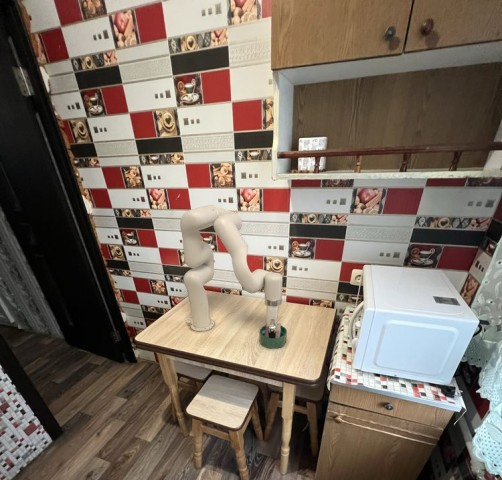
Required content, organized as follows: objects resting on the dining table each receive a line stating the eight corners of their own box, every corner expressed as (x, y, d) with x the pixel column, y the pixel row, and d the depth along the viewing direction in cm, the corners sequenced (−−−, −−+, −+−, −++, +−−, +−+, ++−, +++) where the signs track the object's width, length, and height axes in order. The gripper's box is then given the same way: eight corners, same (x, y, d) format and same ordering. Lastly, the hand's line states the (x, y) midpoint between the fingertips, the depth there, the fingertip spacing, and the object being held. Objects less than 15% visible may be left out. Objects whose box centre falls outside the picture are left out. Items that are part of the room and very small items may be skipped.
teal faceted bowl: (262, 350, 129) (262, 340, 125) (257, 335, 139) (257, 325, 136) (289, 347, 130) (290, 336, 127) (282, 332, 141) (282, 322, 138)
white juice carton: (266, 337, 137) (266, 320, 131) (280, 339, 135) (280, 321, 130) (265, 342, 134) (265, 324, 128) (279, 343, 132) (279, 325, 127)
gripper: (265, 292, 130) (265, 323, 140) (263, 309, 116) (263, 343, 125) (281, 292, 130) (280, 323, 139) (281, 310, 115) (280, 343, 125)
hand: (272, 333), depth 132 cm, fingers open, 9 cm apart
